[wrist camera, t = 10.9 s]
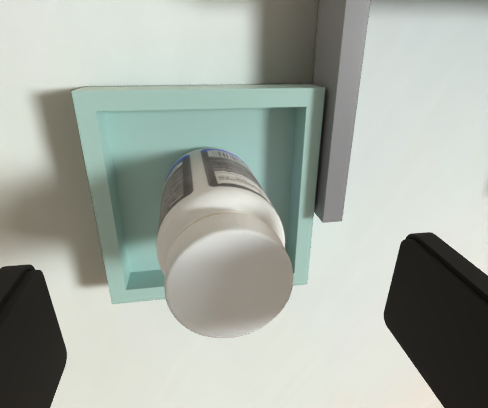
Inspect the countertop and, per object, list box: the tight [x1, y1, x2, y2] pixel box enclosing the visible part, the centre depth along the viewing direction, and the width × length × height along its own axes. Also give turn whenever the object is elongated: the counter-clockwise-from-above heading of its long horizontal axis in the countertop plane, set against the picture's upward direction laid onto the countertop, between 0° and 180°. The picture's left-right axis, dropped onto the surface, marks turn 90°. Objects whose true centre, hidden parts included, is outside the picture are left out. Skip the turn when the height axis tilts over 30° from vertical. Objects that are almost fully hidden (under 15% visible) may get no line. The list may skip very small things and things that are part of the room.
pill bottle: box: [156, 148, 293, 338], centre depth 14 cm, size 5×5×8 cm
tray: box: [71, 84, 325, 304], centre depth 17 cm, size 11×11×2 cm
